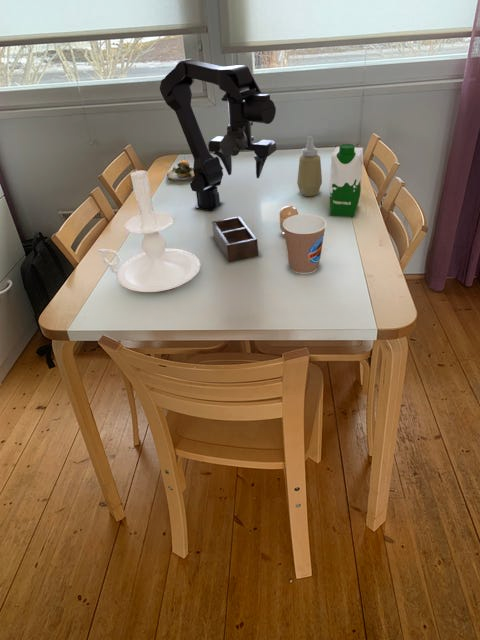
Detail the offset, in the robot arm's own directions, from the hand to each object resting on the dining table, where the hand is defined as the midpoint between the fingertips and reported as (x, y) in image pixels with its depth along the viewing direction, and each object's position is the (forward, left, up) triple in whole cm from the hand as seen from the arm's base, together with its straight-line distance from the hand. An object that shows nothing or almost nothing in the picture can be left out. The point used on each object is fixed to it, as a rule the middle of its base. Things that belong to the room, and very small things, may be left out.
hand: (243, 176), depth 136 cm
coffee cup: (+27, -21, -13) cm, 37 cm away
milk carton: (+26, +14, -13) cm, 32 cm away
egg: (+17, -6, -13) cm, 22 cm away
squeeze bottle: (+11, +24, -13) cm, 30 cm away
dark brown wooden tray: (+5, -17, -13) cm, 22 cm away
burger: (-39, +24, -13) cm, 48 cm away
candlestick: (-6, -40, -13) cm, 43 cm away
